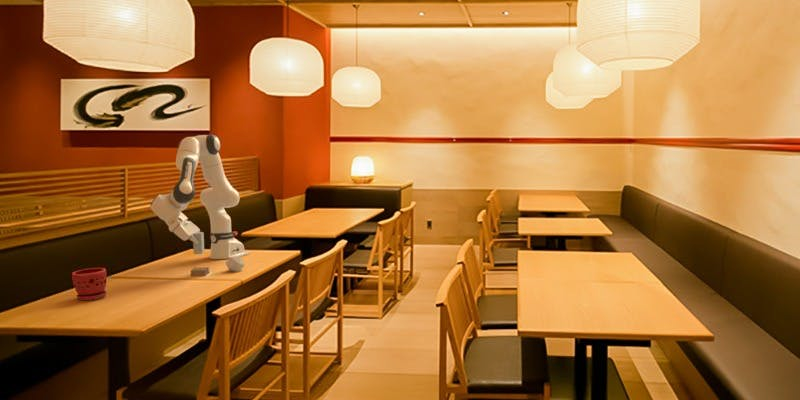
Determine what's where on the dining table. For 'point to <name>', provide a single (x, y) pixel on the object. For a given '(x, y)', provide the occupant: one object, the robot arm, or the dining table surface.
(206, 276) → the mat
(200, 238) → the column
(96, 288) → the plant pot
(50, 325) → the dining table surface
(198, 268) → the base block
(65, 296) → the dining table surface
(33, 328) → the dining table surface
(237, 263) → the die
